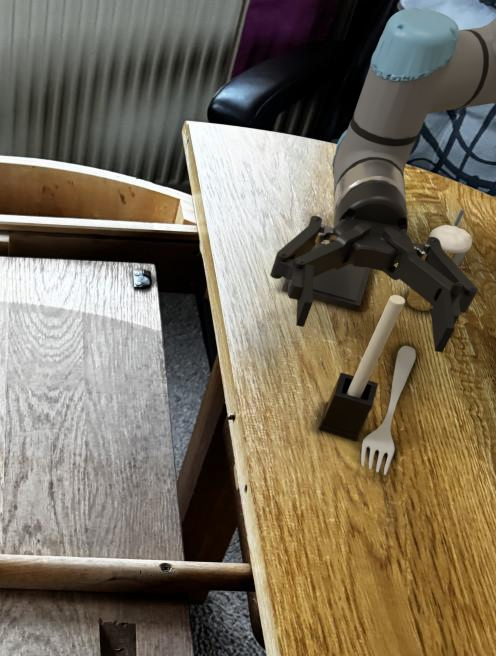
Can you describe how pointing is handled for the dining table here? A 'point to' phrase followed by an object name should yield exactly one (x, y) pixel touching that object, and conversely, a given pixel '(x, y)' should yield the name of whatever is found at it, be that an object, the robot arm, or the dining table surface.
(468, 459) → the dining table surface
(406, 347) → the fork
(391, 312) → the stylus
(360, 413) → the pen stand
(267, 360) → the dining table surface
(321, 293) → the tablet
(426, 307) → the milkshake
